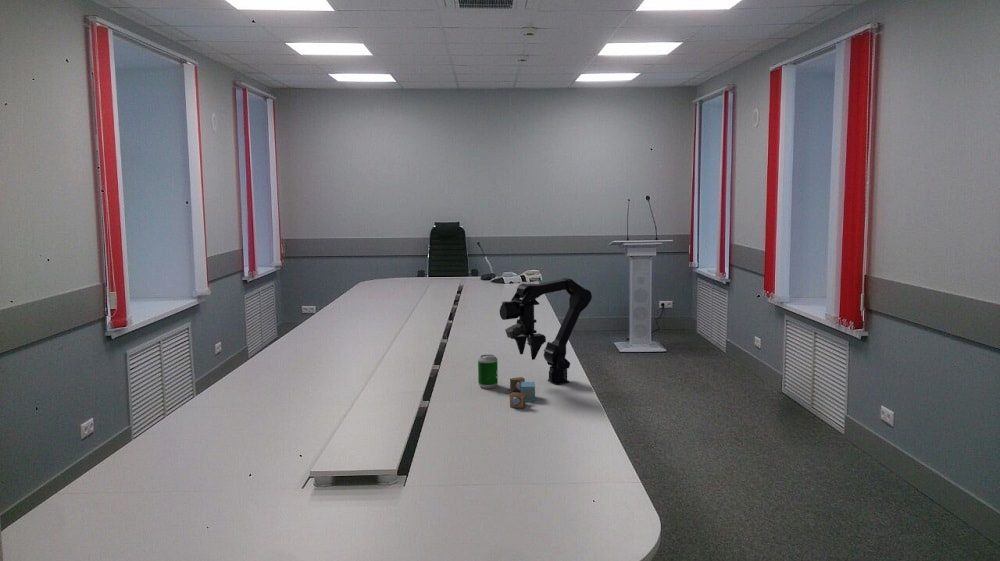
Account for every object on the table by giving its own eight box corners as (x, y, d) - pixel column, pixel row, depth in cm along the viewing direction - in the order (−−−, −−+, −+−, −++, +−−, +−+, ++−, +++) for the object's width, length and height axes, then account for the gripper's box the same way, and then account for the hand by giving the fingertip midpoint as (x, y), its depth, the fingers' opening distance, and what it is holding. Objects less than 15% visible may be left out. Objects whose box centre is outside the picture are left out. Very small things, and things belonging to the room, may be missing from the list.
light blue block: (521, 396, 240) (521, 381, 240) (534, 396, 240) (534, 381, 239) (521, 401, 234) (521, 386, 233) (535, 401, 234) (534, 386, 233)
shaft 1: (508, 389, 248) (508, 377, 247) (521, 388, 250) (520, 376, 249) (516, 395, 241) (515, 382, 241) (528, 393, 243) (528, 380, 242)
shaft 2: (521, 410, 225) (521, 396, 224) (508, 408, 227) (508, 395, 226) (529, 403, 231) (528, 390, 230) (516, 402, 233) (515, 389, 232)
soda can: (495, 389, 248) (495, 359, 246) (476, 388, 250) (475, 358, 248) (499, 383, 255) (499, 354, 254) (481, 383, 257) (480, 353, 255)
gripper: (496, 315, 252) (497, 354, 254) (520, 323, 235) (520, 365, 237) (521, 312, 257) (522, 350, 259) (546, 320, 240) (546, 361, 242)
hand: (527, 356), depth 249 cm, fingers open, 9 cm apart
